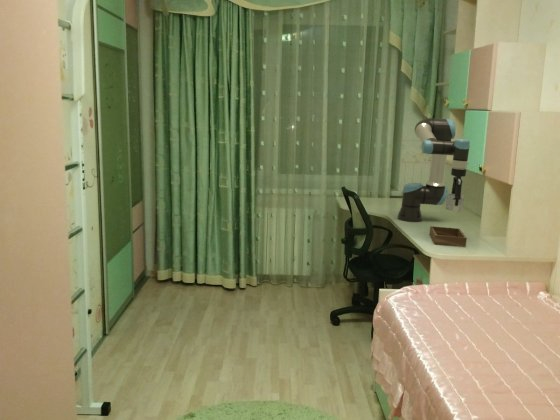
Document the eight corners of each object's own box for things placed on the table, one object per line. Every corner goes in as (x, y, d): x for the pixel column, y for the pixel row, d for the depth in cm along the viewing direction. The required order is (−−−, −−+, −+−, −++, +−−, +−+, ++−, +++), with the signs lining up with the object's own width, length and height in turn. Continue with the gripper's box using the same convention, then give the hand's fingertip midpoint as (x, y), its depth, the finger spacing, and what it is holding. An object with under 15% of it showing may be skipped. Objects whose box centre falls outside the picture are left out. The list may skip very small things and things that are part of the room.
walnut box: (429, 234, 304) (430, 226, 303) (458, 237, 302) (459, 228, 301) (434, 244, 283) (435, 235, 282) (465, 247, 280) (466, 238, 279)
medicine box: (462, 211, 287) (464, 195, 285) (457, 212, 284) (459, 196, 283) (450, 208, 293) (452, 193, 291) (445, 209, 291) (447, 193, 289)
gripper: (469, 171, 273) (464, 214, 278) (463, 166, 294) (458, 206, 298) (454, 170, 274) (449, 213, 279) (449, 165, 295) (444, 205, 300)
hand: (454, 209), depth 289 cm, fingers closed on medicine box, 8 cm apart
